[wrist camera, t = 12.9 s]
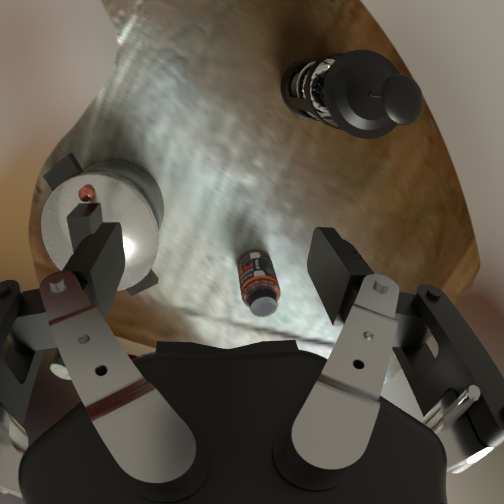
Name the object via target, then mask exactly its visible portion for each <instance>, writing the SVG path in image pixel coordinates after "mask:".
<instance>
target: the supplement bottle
mask: <svg viewBox="0 0 504 504" xmlns="http://www.w3.org/2000/svg"><path fill="white" fill-rule="evenodd" d="M238 275H239V282H240V290H241V295H242V300H243V302H244V303H245V305H246V306H248V307H249V308H250V310H251V312H252V313H253V314H254V315H255V316H258V317H266V316H269V315H271V314H273V313H274V312H275V311H276V309H277V306H278V304H277V301H278V300H279V298H280V287H279V284H278V281H277V277H276V274H275V271H274V268H273V264H272V261H271V259H270V257H269V256H268V255H267V254H266V253H264V252H262V251H257V250H256V251H249V252H247V253H245V254H244V255H243V256H242V257H241V258H240V259H239V261H238Z"/></svg>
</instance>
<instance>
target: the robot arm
mask: <svg viewBox="0 0 504 504" xmlns="http://www.w3.org/2000/svg"><path fill="white" fill-rule="evenodd" d="M307 269H308V273H309V275H310V277H311V280H312V282H313V284H314V286H315V288H316V290H317V292H318V294H319V296H320V299H321V301H322V303H323V305H324V307H325V309H326V312H327V314H328V316H329V318H330V320H331V323H332V325H333V326H338V325H344V326H343V329H342V331H341V333H340V335H339V337H338V339H337V342H336V344H335V346H334V348H333V350H332V352H331V354H330V356H329V358H328V359H326V358H324V357H322V356H319V355H317V354H314V353H311V352H308V351H303V350H298V347H297V344H296V341H295V340H283V341H262V342H258V343H254V344H250V345H246V346H241V347H237V348H233V349H222V348H217V347H212V346H207V345H202V344H197V343H192V342H161V341H157V346H156V352H151V353H148V354H144V355H141V356H138V357H136V358H134V359H132V360H131V359H130V358H129V356H128V355H127V354H126V352H125V351H124V349H123V348H122V346H121V345H120V343H119V342H118V340H117V339H116V337H115V336H114V334H113V333H112V331H111V329H110V328H109V326H108V325H107V323H106V321H107V318H108V315H109V312H110V309H111V306H112V303H113V300H114V297H115V294H116V292H117V289H118V286H119V283H120V281H121V278H122V275H123V273H124V270H125V251H124V243H123V235H122V227H121V224H120V222H102V223H101V225H100V226H99V227H98V229H97V230H96V232H95V233H94V234H90V235H88V236H87V237H85V238H84V239H83V240H82V241H81V242H80V244H79V245H78V246H77V249H75V251H74V252H73V254H72V256H71V257H70V259H69V260H68V262H67V263H66V265H65V266H64V268H63V270H62V271H57V272H53V273H51V274H49V275H47V276H46V277H45V278H44V279H43V280H42V281H41V283H40V285H39V289H35V290H29V291H23V292H22V291H21V288H20V285H19V283H18V282H17V281H14V280H6V281H3V282H0V495H3V494H6V493H11V494H13V495H16V496H19V497H21V498H23V500H24V503H25V504H447V497H446V473H447V472H448V471H449V472H451V473H460V472H462V471H464V470H465V469H467V468H468V467H470V466H471V465H473V464H474V463H476V462H477V461H479V460H480V459H482V458H483V457H484V456H486V455H487V454H488V453H490V452H491V451H492V450H494V449H495V448H496V447H498V446H499V445H500V444H501V443H503V442H504V378H503V377H502V375H501V373H500V372H499V370H498V368H497V367H496V365H495V364H494V362H493V360H492V359H491V358H490V356H489V354H488V353H487V351H486V350H485V348H484V347H483V346H482V344H481V342H480V341H479V339H478V338H477V336H476V335H475V334H474V332H473V331H472V329H471V328H470V327H469V325H468V324H467V322H466V321H465V320H464V318H463V317H462V316H461V314H460V313H459V312H458V310H457V309H456V308H455V306H454V305H453V304H452V302H451V301H450V300H449V298H448V297H447V296H446V295H445V293H444V292H443V291H441V290H440V289H438V288H437V287H435V286H432V285H428V284H422V285H420V286H419V287H418V289H417V291H416V293H415V295H414V294H408V293H403V292H399V288H398V286H397V284H396V283H395V282H394V281H392V280H391V279H389V278H388V277H385V276H383V275H379V274H374V272H373V271H372V270H371V268H370V267H369V266H368V264H367V263H366V262H365V260H364V259H363V258H362V256H361V255H360V254H358V251H357V250H356V249H355V247H354V246H353V245H352V244H350V243H349V242H347V241H346V240H344V239H342V238H341V237H340V235H339V234H338V233H337V232H336V230H335V229H334V228H326V227H316V228H315V230H314V232H313V237H312V241H311V246H310V251H309V255H308V260H307ZM431 333H432V335H433V336H434V338H435V340H436V341H437V343H438V347H439V351H438V355H437V357H436V358H435V357H434V356H433V354H432V352H431V350H430V349H429V347H428V345H427V343H426V341H427V340H428V338H429V336H430V335H431ZM7 337H8V339H9V341H10V345H9V347H8V349H7V352H6V354H5V357H4V359H3V354H2V349H3V345H4V343H5V341H6V338H7ZM55 347H58V349H59V352H60V354H61V357H62V359H63V361H64V364H65V366H66V368H67V371H68V373H69V375H70V377H71V379H72V381H73V384H74V386H75V387H76V390H77V392H78V394H79V396H80V398H81V401H80V402H79V403H78V404H77V405H76V406H74V407H73V408H72V409H71V410H70V411H69V412H67V413H66V414H65V415H64V416H63V417H62V418H61V419H59V420H58V421H57V422H56V423H55V424H54V425H52V426H51V427H50V428H49V429H48V430H47V431H45V432H44V433H43V434H42V435H41V436H40V437H38V439H36V440H35V441H34V442H33V443H32V444H31V445H30V446H29V447H28V437H27V434H26V432H25V430H24V428H23V424H24V419H25V415H26V411H27V407H28V403H29V399H30V395H31V391H32V388H33V385H34V381H35V378H36V374H37V371H38V368H39V365H40V362H41V359H42V356H43V353H44V350H45V349H48V348H55ZM392 349H393V351H394V353H395V355H396V357H397V359H398V361H399V363H400V365H401V367H402V369H403V371H404V374H405V376H406V378H407V380H408V382H409V384H410V387H411V389H412V391H413V393H414V396H415V398H416V400H417V402H418V405H419V407H420V409H421V411H422V414H423V416H424V421H423V423H421V422H420V421H418V420H417V419H415V418H414V417H412V416H411V415H409V414H407V413H406V412H404V411H403V410H401V409H400V408H398V407H397V406H395V405H394V404H392V403H391V402H389V401H388V400H386V399H385V398H383V397H382V396H380V393H381V390H382V387H383V383H384V379H385V376H386V372H387V368H388V364H389V360H390V356H391V352H392Z"/></svg>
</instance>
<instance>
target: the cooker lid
mask: <svg viewBox="0 0 504 504" xmlns="http://www.w3.org/2000/svg"><path fill="white" fill-rule="evenodd" d="M102 222H120V224H121V227H122V235H123V243H124V251H125V270H124V273H123V275H122V278H121V281H120V283H119V286H118V289H117V291H120V290H124V289H127V288H129V287H132V286H134V285H135V284H137V283H138V282H140V281H141V280H142V279H143V278H144V277H145V276H146V275H147V274H148V272H149V271H150V270H151V268H152V266H153V264H154V261H155V258H156V255H157V251H158V245H159V232H158V226H157V222H156V219H155V216H154V214H153V211H152V210H151V208H150V206H149V204H148V203H147V202H146V200H145V199H144V198H143V196H142V195H141V194H140V193H139V192H138V191H137V190H136V189H134V188H133V187H132V186H131V185H129V184H128V183H126V182H125V181H123V180H121V179H119V178H117V177H115V176H112V175H108V174H104V173H93V172H90V173H82V174H79V175H76V176H73V177H71V178H69V179H67V180H66V181H65V182H63V183H62V184H61V185H59V186H58V187H57V188H56V189H55V190H54V191H53V192H52V193H51V195H50V196H49V198H48V199H47V201H46V203H45V206H44V209H43V212H42V217H41V232H42V238H43V242H44V245H45V248H46V250H47V252H48V254H49V256H50V258H51V259H52V261H53V262H54V264H55V265H56V266H57V267H58V268H59V269H60V271H62V270H63V268H64V266H65V265H66V263H67V262H68V260H69V259H70V257H71V256H72V254H73V252H74V251H75V249H77V246H78V245H79V244H80V242H81V241H82V240H83V239H84V238H85V237H87V236H88V235H90V234H94V233H95V232H96V230H97V229H98V227H99V226H100V225H101V223H102Z"/></svg>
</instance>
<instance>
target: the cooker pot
mask: <svg viewBox="0 0 504 504" xmlns="http://www.w3.org/2000/svg"><path fill="white" fill-rule="evenodd" d="M90 172H93V173H104V174H108V175H112V176H115V177H117V178H119V179H121V180H123V181H125V182H126V183H128V184H129V185H131V186H132V187H133V188H134V189H136V190H137V191H138V192H139V193H140V194H141V195H142V196H143V198H144V199H145V200H146V202H147V203H148V204H149V206H150V208H151V210H152V211H153V214H154V216H155V219H156V222H157V226H158V232H159V230H160V227H161V224H162V221H163V215H164V203H163V198H162V194H161V191H160V189H159V187H158V185H157V183H156V182H155V180H154V179H153V177H152V176H151V175H150V174H149V173H148V172H147V171H146V170H144V169H143V168H142V167H140V166H139V165H137V164H135V163H133V162H130V161H127V160H123V159H105V160H102V161H99V162H96V163H94V164H92V165H91V166H89V167H88V168H86V169H85V170H84V171H83V170H82V168H81V167H80V165H79V163H78V162H77V160H76V158H75V157H74V155H73V153H71V154H69V155H68V156H66V157H65V158H64V159H63V160H61V161H60V162H59V163H58V164H57V165H56V166H54V167H53V168H52V169H51V170H50V171H49V172H47V173H46V174H45V175H44V178H45V179H46V181H47V183H48V184H49V186H50V187H51V189H52V191H54V190H55V189H56V188H57V187H58V186H59V185H61V184H62V183H63V182H65V181H66V180H67V179H69V178H71V177H73V176H76V175H79V174H82V173H90ZM158 279H159V278H158V277H157V276H156V275H155V273H154V272H153V271H152V269H151V270H150V271H149V272H148V274H147V275H146V276H145V277H144V278H143V279H142V280H141V281H140V282H138V283H137V284H135V285H134V286H132V287H129V288H127V289H126V290H127V291H128V292H129V293H130V295H131V296H132V295H135V294H137V293H139V292H141V291H143V290H145V289H147V288H149V287H151V286H153V285H155V284H158Z"/></svg>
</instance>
